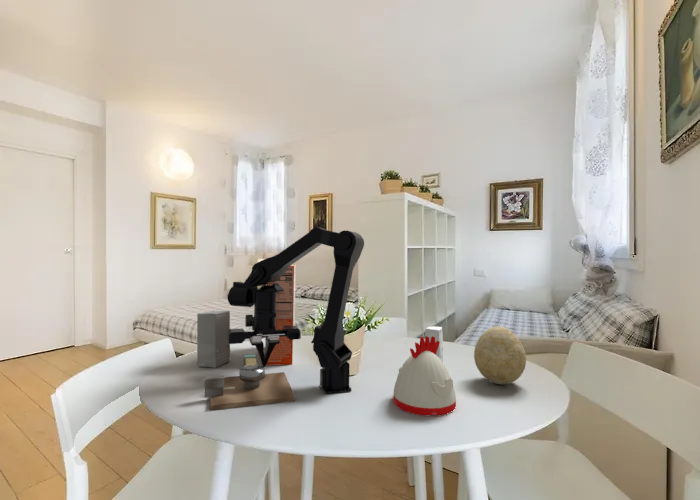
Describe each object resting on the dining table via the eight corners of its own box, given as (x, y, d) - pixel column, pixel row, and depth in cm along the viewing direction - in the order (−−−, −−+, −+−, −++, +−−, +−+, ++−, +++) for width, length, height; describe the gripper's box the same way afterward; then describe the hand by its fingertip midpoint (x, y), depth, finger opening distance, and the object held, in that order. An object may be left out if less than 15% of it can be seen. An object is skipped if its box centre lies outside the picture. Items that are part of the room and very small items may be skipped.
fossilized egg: (477, 372, 104) (477, 320, 104) (525, 379, 98) (526, 324, 99) (470, 386, 93) (471, 328, 93) (525, 395, 87) (526, 333, 87)
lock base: (283, 374, 100) (283, 356, 100) (294, 400, 82) (295, 378, 82) (208, 380, 94) (208, 361, 94) (202, 411, 75) (203, 387, 76)
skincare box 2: (440, 372, 104) (440, 330, 104) (424, 370, 106) (425, 328, 106) (443, 366, 109) (443, 326, 110) (428, 364, 111) (429, 325, 112)
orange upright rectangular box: (271, 346, 131) (273, 264, 132) (294, 346, 132) (295, 264, 133) (265, 365, 108) (267, 265, 109) (292, 364, 109) (294, 266, 110)
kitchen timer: (469, 408, 79) (469, 340, 79) (421, 421, 72) (421, 346, 73) (426, 388, 91) (426, 328, 91) (381, 397, 84) (382, 333, 85)
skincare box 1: (216, 368, 104) (217, 314, 104) (194, 367, 105) (195, 312, 106) (231, 360, 112) (232, 310, 113) (210, 359, 114) (212, 309, 114)
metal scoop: (265, 380, 85) (266, 371, 85) (239, 382, 84) (239, 373, 84) (260, 361, 101) (260, 353, 101) (238, 363, 99) (238, 355, 99)
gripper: (292, 303, 108) (290, 355, 108) (226, 305, 101) (225, 361, 101) (301, 308, 98) (300, 366, 98) (229, 311, 91) (228, 373, 90)
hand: (263, 366), depth 97 cm, fingers closed
